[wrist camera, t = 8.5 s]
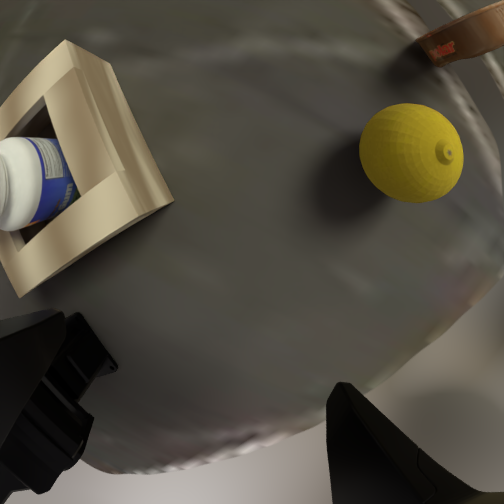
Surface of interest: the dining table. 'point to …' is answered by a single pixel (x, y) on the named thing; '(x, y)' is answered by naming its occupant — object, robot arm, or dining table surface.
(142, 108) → the dining table surface
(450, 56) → the tin
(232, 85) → the dining table surface
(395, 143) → the lemon
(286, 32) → the dining table surface
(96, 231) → the box
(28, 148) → the pill bottle
